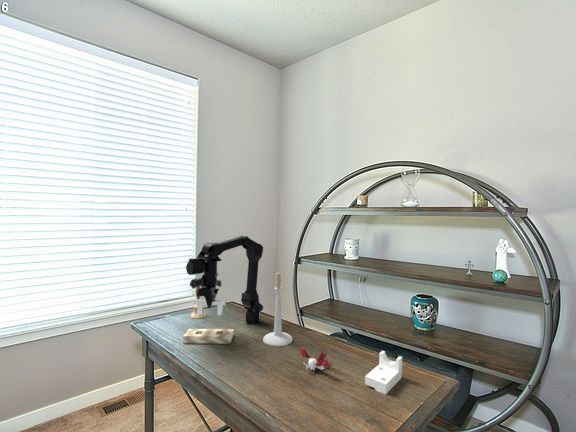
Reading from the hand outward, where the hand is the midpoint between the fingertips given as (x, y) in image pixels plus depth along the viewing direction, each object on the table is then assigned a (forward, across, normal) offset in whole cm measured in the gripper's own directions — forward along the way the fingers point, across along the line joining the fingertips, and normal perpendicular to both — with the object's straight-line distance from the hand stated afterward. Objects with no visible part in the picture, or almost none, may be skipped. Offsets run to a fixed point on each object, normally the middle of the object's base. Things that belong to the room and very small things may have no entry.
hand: (210, 306), depth 143 cm
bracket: (+14, +34, +68) cm, 77 cm away
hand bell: (+14, -26, -13) cm, 32 cm away
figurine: (+14, +26, +46) cm, 55 cm away
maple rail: (+13, +3, +1) cm, 14 cm away
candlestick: (+13, +2, +31) cm, 33 cm away
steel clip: (+3, 0, 0) cm, 3 cm away
